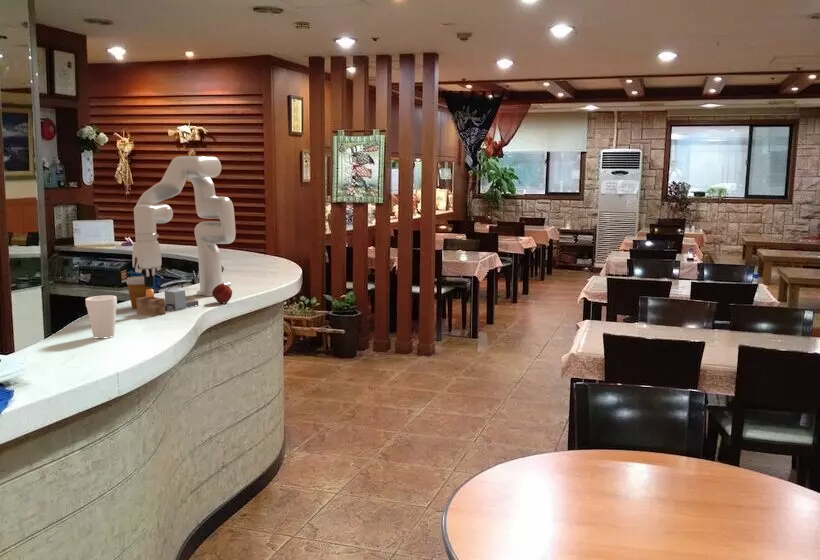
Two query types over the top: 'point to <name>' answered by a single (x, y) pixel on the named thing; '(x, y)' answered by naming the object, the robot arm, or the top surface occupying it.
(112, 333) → the foam cup
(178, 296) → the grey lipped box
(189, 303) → the rail
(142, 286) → the disposable coffee cup
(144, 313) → the tan slotted block
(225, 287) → the apple
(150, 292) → the peg
